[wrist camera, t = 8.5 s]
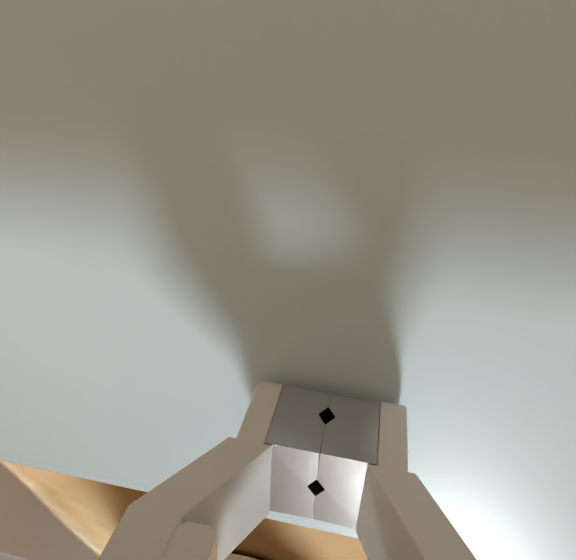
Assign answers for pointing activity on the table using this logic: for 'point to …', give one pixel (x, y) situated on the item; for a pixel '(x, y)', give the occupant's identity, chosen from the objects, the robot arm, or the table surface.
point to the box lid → (295, 238)
